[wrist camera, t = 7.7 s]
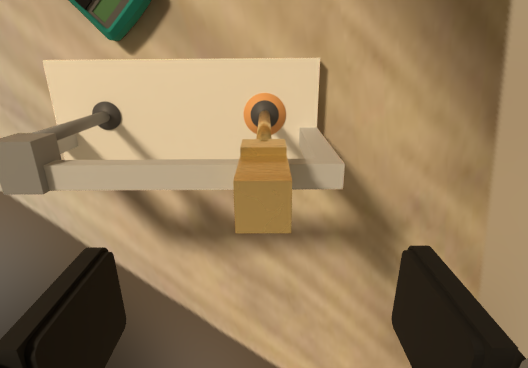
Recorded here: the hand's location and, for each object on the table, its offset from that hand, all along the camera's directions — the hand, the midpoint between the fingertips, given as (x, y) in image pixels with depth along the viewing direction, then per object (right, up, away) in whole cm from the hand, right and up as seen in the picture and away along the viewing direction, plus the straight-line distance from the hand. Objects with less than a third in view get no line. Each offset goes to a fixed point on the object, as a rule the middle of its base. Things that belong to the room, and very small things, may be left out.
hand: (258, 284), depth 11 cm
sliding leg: (0, +10, +27) cm, 28 cm away
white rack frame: (-9, +12, +29) cm, 32 cm away
